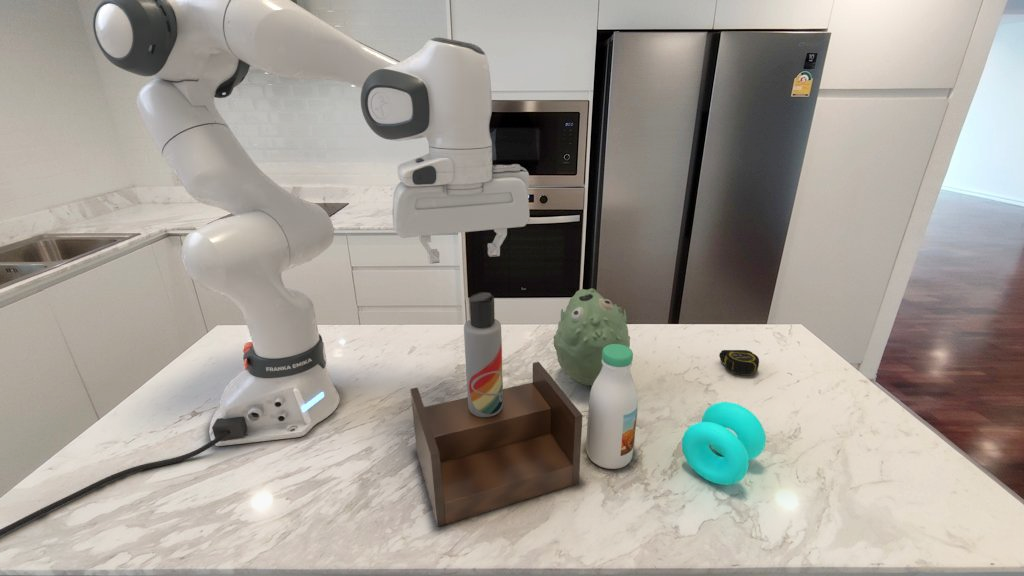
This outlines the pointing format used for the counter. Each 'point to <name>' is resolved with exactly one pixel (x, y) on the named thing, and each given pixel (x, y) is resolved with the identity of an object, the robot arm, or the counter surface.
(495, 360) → the lotion bottle
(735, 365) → the tape measure
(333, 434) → the counter surface
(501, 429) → the step rack
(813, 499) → the counter surface
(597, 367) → the green monster figurine
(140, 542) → the counter surface
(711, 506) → the counter surface
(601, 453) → the milk bottle
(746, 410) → the turquoise yo-yo
